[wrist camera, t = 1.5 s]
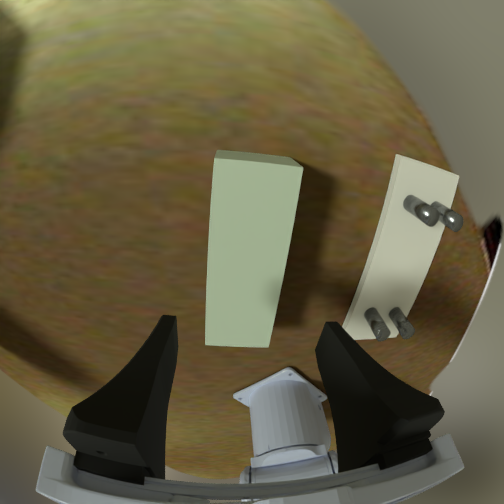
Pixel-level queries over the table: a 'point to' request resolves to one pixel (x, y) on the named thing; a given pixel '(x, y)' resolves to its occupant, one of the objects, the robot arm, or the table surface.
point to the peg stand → (402, 249)
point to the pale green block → (248, 245)
